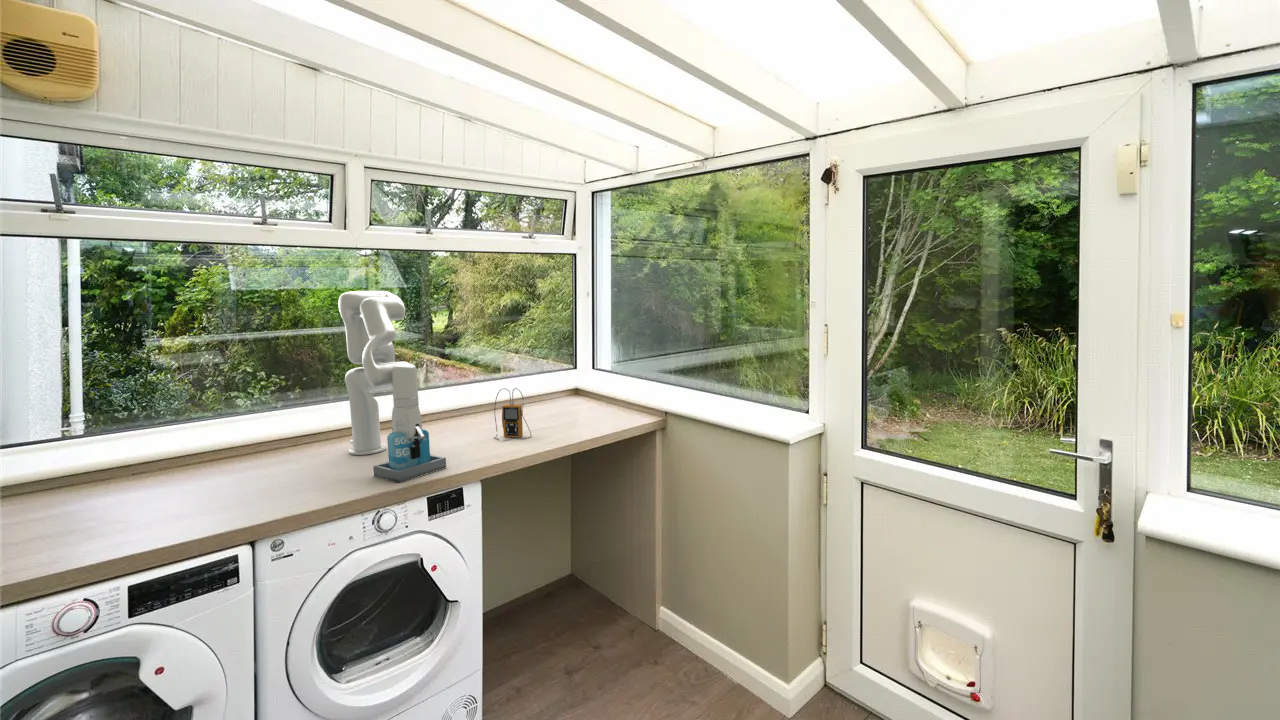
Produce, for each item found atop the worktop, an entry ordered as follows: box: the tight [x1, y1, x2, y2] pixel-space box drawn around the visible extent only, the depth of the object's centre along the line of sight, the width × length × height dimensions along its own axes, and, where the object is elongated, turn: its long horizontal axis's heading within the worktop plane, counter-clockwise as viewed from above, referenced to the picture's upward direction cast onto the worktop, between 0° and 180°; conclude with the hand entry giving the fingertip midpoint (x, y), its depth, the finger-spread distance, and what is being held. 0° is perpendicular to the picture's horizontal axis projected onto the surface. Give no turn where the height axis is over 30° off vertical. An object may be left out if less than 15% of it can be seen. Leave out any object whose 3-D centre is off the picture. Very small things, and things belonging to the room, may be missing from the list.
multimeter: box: [493, 387, 532, 442], centre depth 235 cm, size 15×10×20 cm
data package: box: [386, 428, 431, 471], centre depth 194 cm, size 12×4×12 cm, turn 131°
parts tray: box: [372, 454, 447, 484], centre depth 194 cm, size 13×18×4 cm
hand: (409, 456), depth 194 cm, fingers closed on data package, 5 cm apart
